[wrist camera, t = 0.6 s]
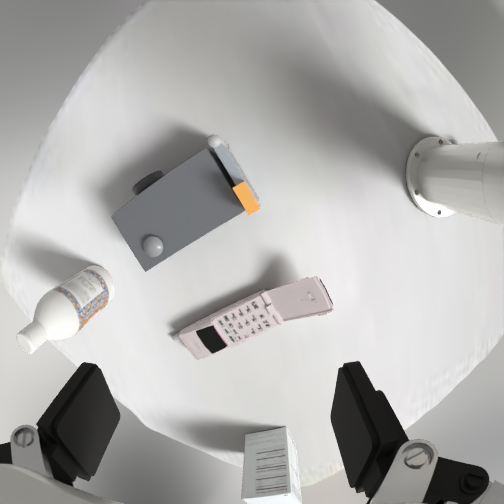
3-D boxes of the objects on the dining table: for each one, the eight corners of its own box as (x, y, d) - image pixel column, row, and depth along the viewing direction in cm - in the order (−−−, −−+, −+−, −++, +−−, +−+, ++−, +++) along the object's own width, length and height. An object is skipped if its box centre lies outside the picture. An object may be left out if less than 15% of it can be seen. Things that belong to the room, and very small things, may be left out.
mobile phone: (336, 310, 35) (182, 378, 39) (327, 293, 41) (191, 357, 45) (317, 272, 34) (159, 349, 38) (310, 259, 40) (170, 330, 43)
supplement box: (244, 433, 50) (239, 498, 34) (286, 425, 49) (291, 492, 32) (258, 454, 52) (257, 512, 36) (297, 447, 51) (302, 507, 35)
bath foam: (94, 306, 43) (26, 370, 24) (77, 271, 41) (-1, 322, 22) (122, 297, 42) (53, 367, 23) (104, 258, 40) (22, 312, 21)
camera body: (211, 143, 35) (197, 134, 27) (248, 203, 37) (244, 211, 29) (132, 198, 38) (101, 205, 29) (166, 253, 40) (143, 273, 31)
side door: (225, 141, 35) (210, 126, 24) (260, 198, 37) (260, 208, 26) (216, 146, 35) (198, 134, 25) (251, 204, 37) (247, 215, 27)
